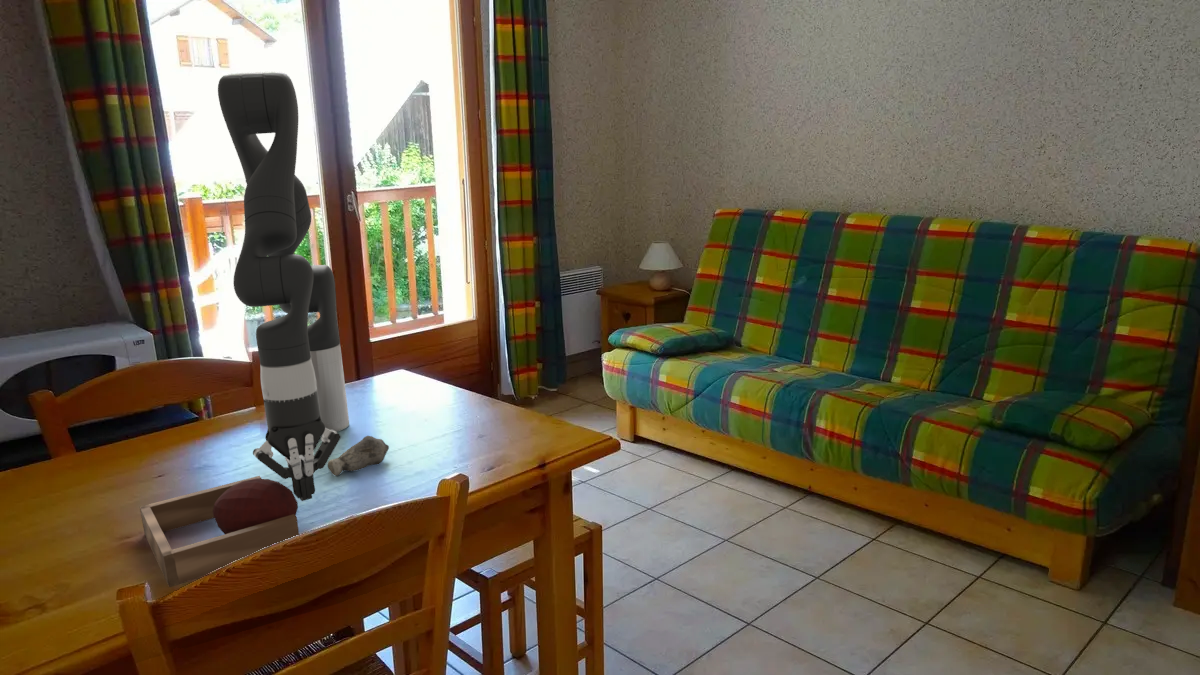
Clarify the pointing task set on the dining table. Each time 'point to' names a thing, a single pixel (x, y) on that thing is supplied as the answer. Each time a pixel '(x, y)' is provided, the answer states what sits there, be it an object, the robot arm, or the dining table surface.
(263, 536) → the corral
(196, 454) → the dining table surface
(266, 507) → the potato
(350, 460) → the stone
